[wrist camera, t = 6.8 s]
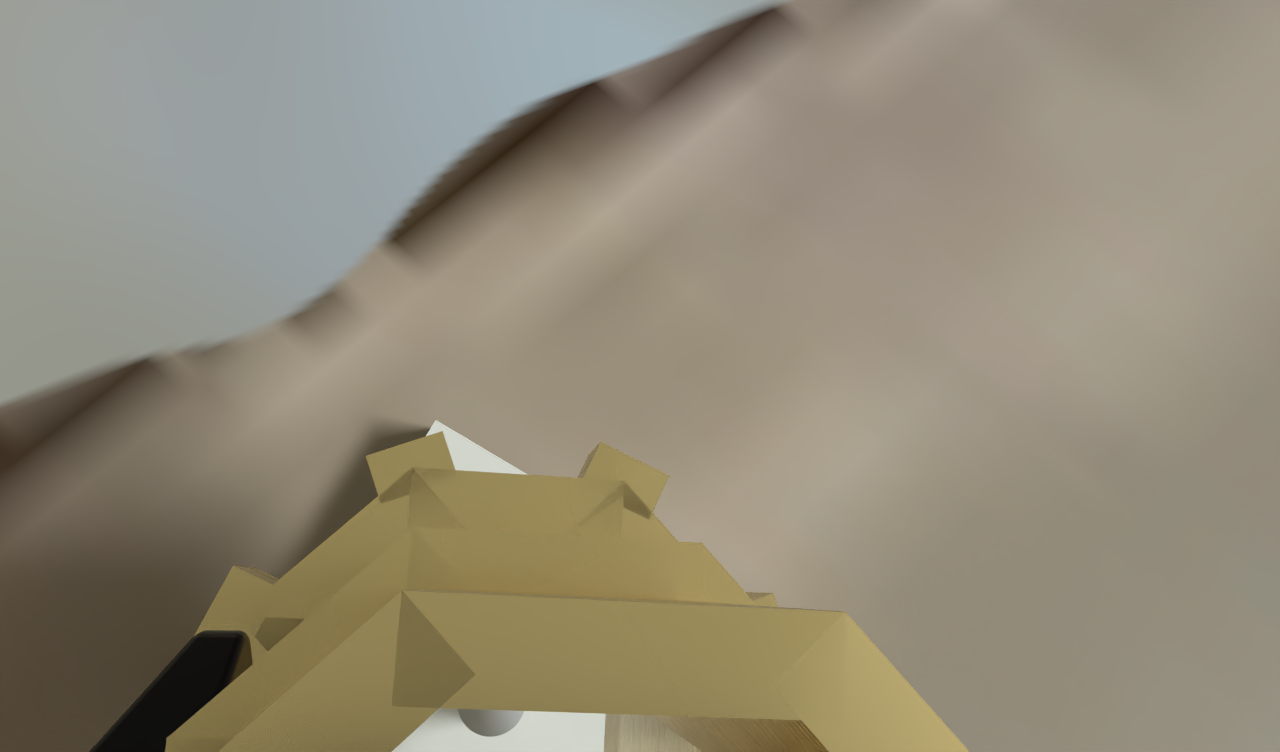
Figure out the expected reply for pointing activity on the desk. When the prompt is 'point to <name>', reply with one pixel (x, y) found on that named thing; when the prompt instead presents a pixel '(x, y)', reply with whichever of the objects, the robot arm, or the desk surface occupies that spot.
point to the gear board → (500, 739)
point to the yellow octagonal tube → (539, 627)
